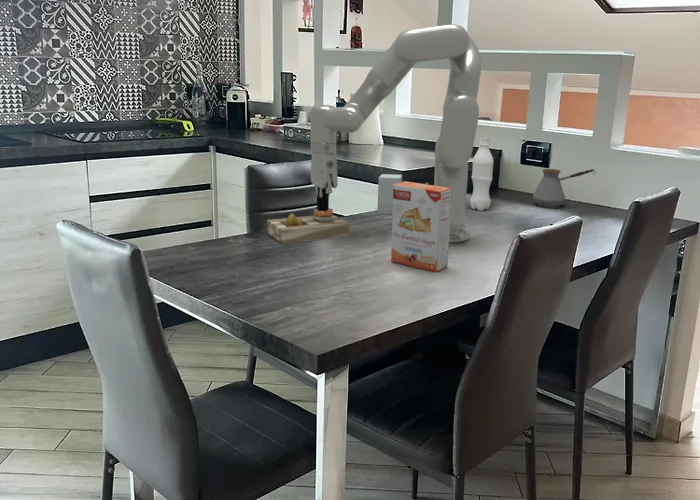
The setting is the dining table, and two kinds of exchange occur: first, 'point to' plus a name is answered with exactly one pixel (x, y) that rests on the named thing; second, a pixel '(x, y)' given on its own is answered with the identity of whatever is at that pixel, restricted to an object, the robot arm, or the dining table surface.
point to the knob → (293, 221)
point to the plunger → (323, 215)
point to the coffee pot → (552, 188)
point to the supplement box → (386, 192)
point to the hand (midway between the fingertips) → (322, 209)
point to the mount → (307, 229)
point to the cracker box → (421, 225)
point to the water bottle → (482, 176)
